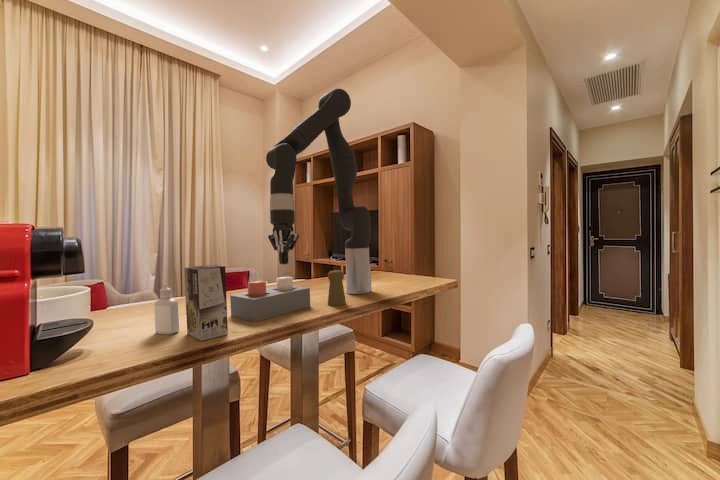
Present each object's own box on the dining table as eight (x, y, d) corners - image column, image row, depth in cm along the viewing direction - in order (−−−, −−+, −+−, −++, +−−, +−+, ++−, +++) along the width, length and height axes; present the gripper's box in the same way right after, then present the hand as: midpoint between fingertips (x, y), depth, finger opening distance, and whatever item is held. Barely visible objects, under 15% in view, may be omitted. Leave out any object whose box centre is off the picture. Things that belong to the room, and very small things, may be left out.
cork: (347, 301, 102) (346, 269, 102) (344, 306, 96) (343, 271, 96) (329, 302, 103) (328, 269, 103) (325, 306, 97) (324, 271, 97)
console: (286, 302, 104) (285, 284, 104) (310, 306, 97) (309, 287, 97) (231, 315, 89) (230, 295, 89) (254, 322, 81) (253, 299, 81)
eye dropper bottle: (159, 337, 71) (157, 286, 71) (154, 332, 75) (152, 283, 75) (180, 332, 74) (178, 283, 74) (174, 328, 78) (172, 281, 78)
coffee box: (229, 334, 72) (226, 266, 71) (200, 342, 67) (197, 268, 67) (213, 327, 78) (211, 264, 78) (186, 333, 73) (183, 266, 73)
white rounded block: (286, 294, 100) (285, 276, 100) (296, 295, 97) (295, 277, 97) (273, 297, 96) (273, 278, 96) (283, 298, 93) (283, 279, 93)
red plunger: (260, 300, 92) (259, 280, 92) (270, 302, 89) (269, 281, 89) (245, 303, 88) (244, 282, 88) (254, 305, 85) (254, 284, 85)
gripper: (305, 208, 95) (306, 263, 95) (279, 211, 103) (280, 262, 103) (286, 207, 89) (287, 266, 89) (259, 210, 97) (261, 264, 98)
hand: (283, 264), depth 96 cm, fingers closed
